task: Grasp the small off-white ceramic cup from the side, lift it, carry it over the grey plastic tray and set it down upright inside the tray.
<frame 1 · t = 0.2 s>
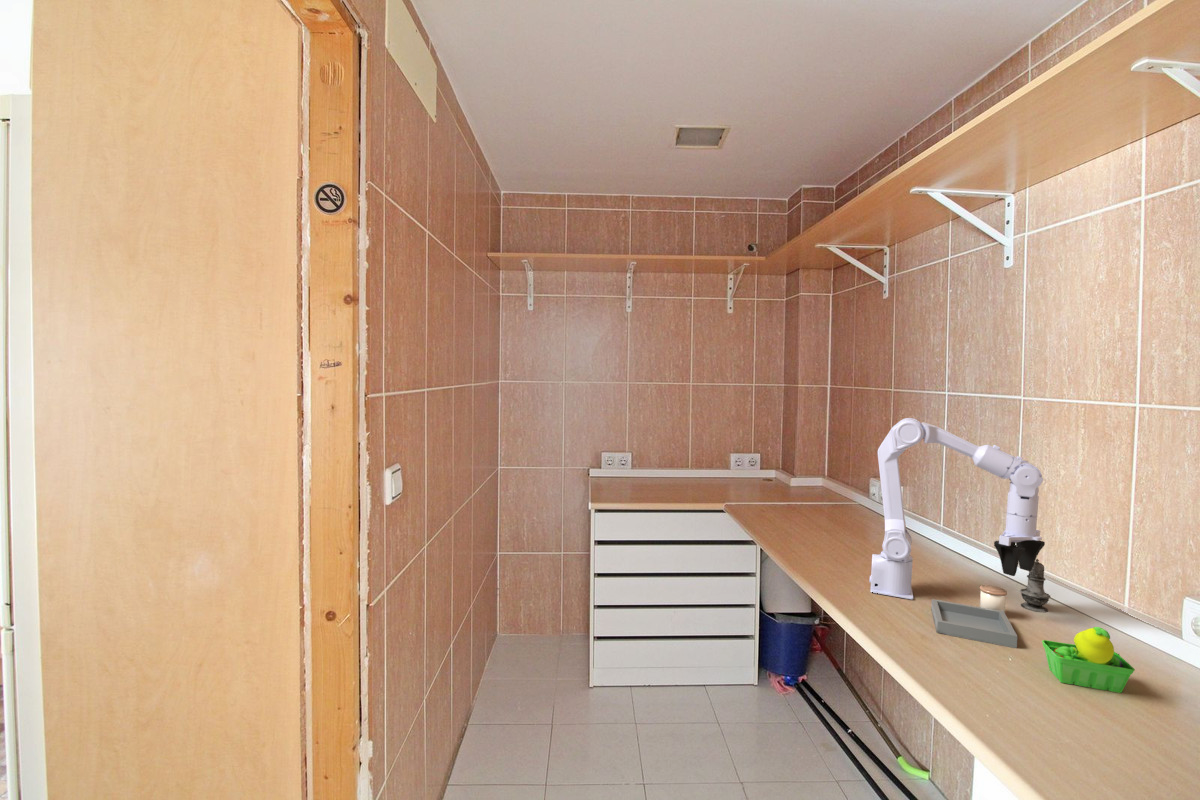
hand: (1017, 572, 133), 10 cm above the table, tool pointing down, fingers open, 7 cm apart
cup: (991, 614, 133), on the table
tray: (970, 627, 126), on the table
fruit basket: (1085, 683, 103), on the table
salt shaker: (1034, 608, 138), on the table
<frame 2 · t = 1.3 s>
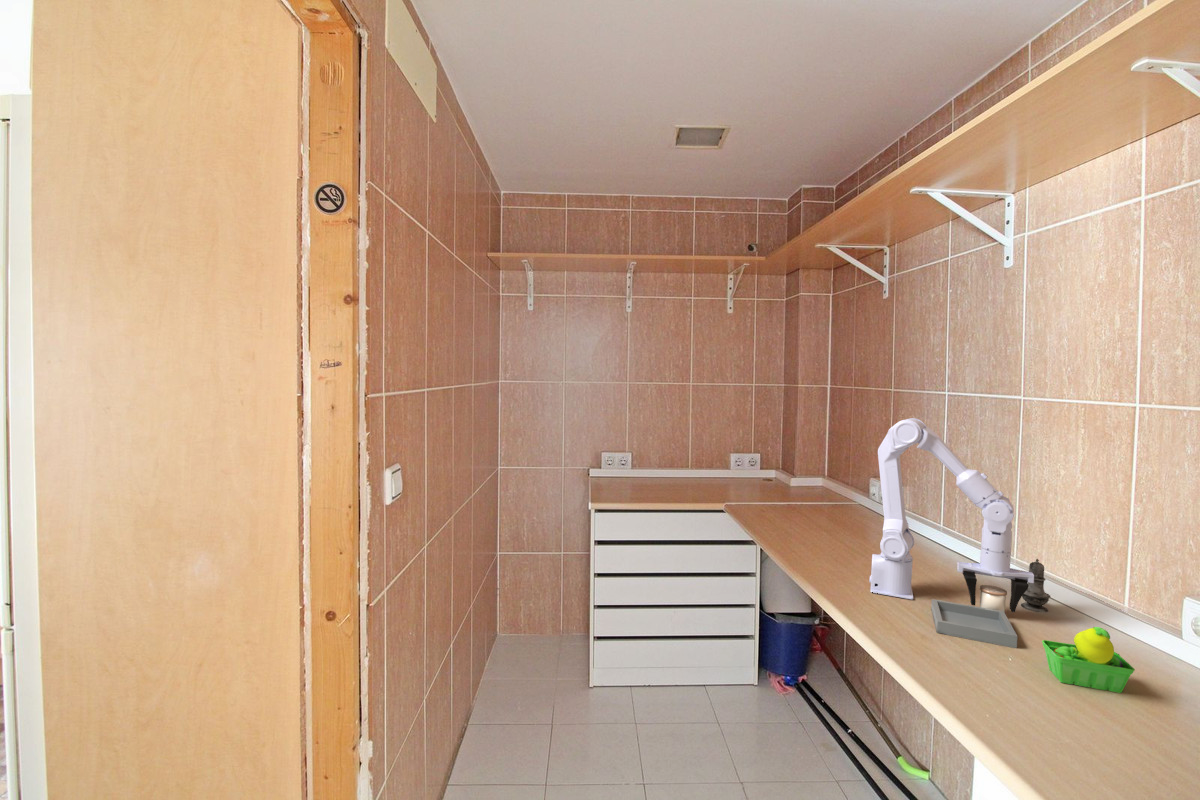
hand: (992, 607, 133), 2 cm above the table, tool pointing down, fingers open, 7 cm apart
nothing on the table moved.
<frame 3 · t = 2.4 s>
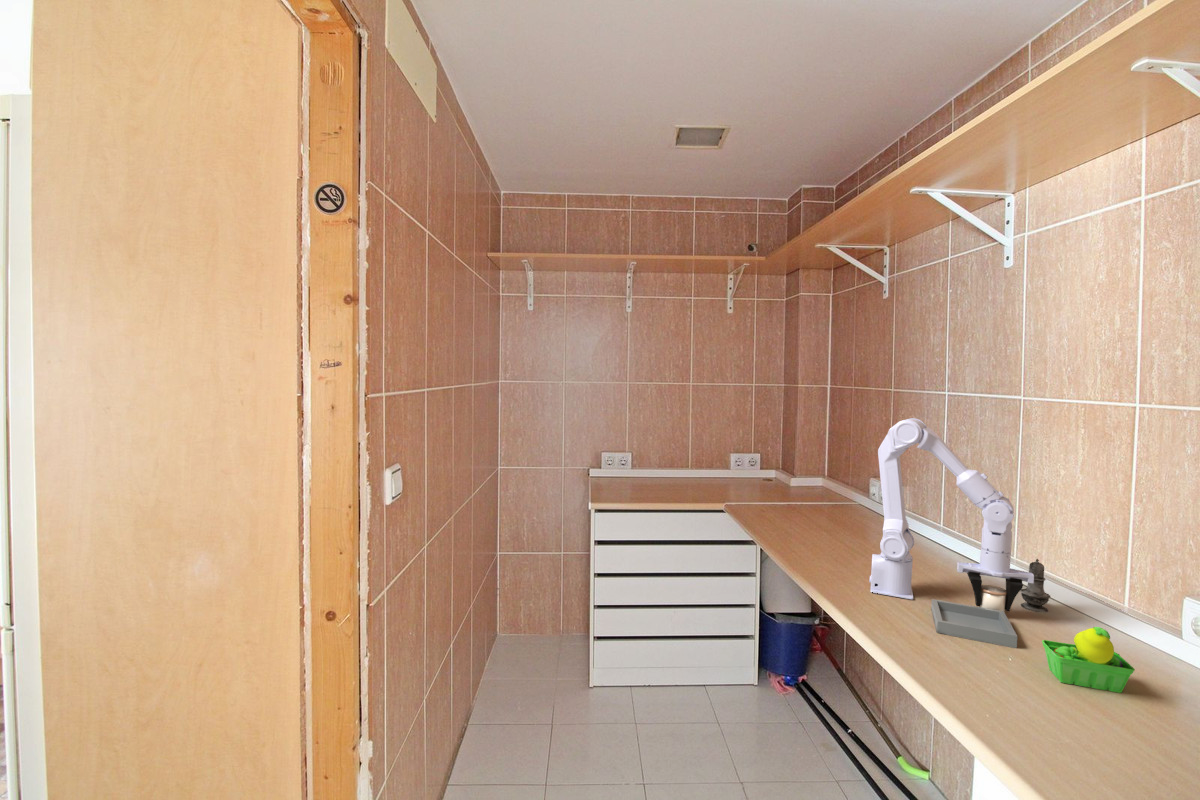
hand: (992, 607, 133), 2 cm above the table, tool pointing down, fingers closed on cup, 5 cm apart
cup: (991, 614, 133), on the table, touching gripper
everything else where it was.
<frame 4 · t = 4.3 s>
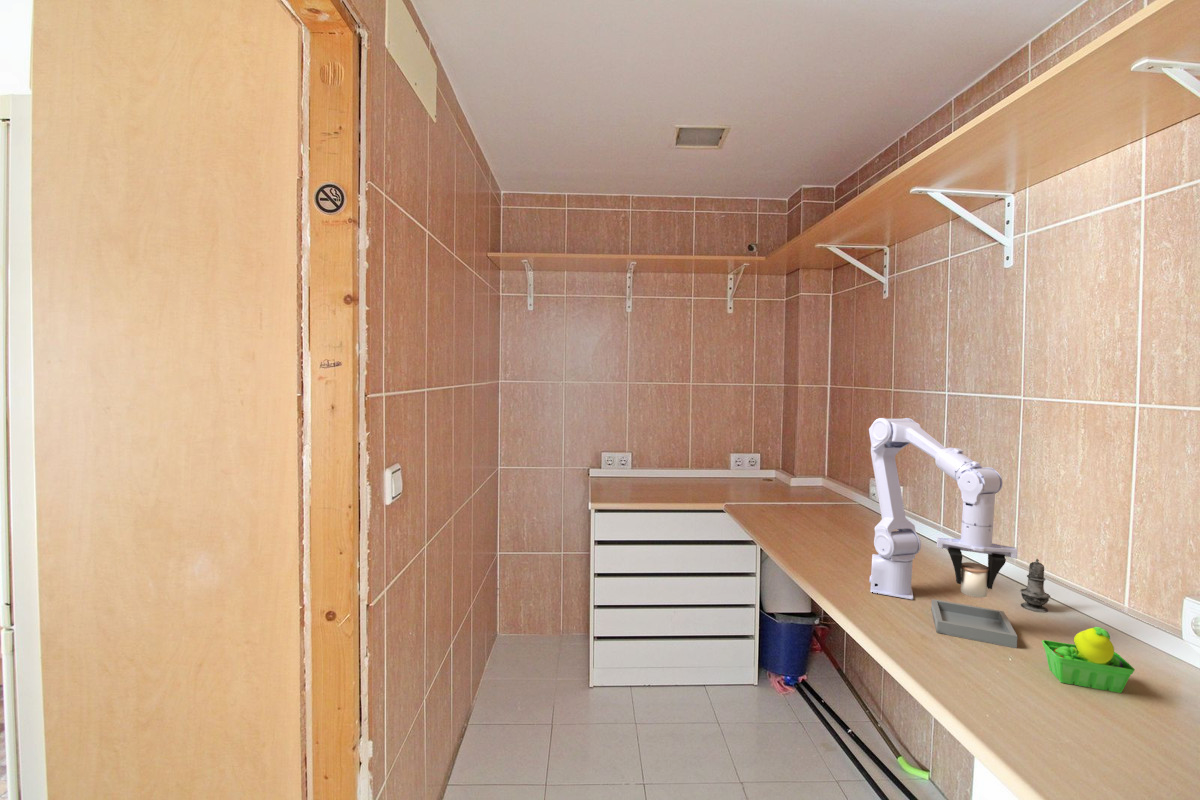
hand: (973, 585, 125), 9 cm above the table, tool pointing down, fingers closed on cup, 5 cm apart
cup: (973, 593, 125), point 7 cm above the table, touching gripper
everything else where it was.
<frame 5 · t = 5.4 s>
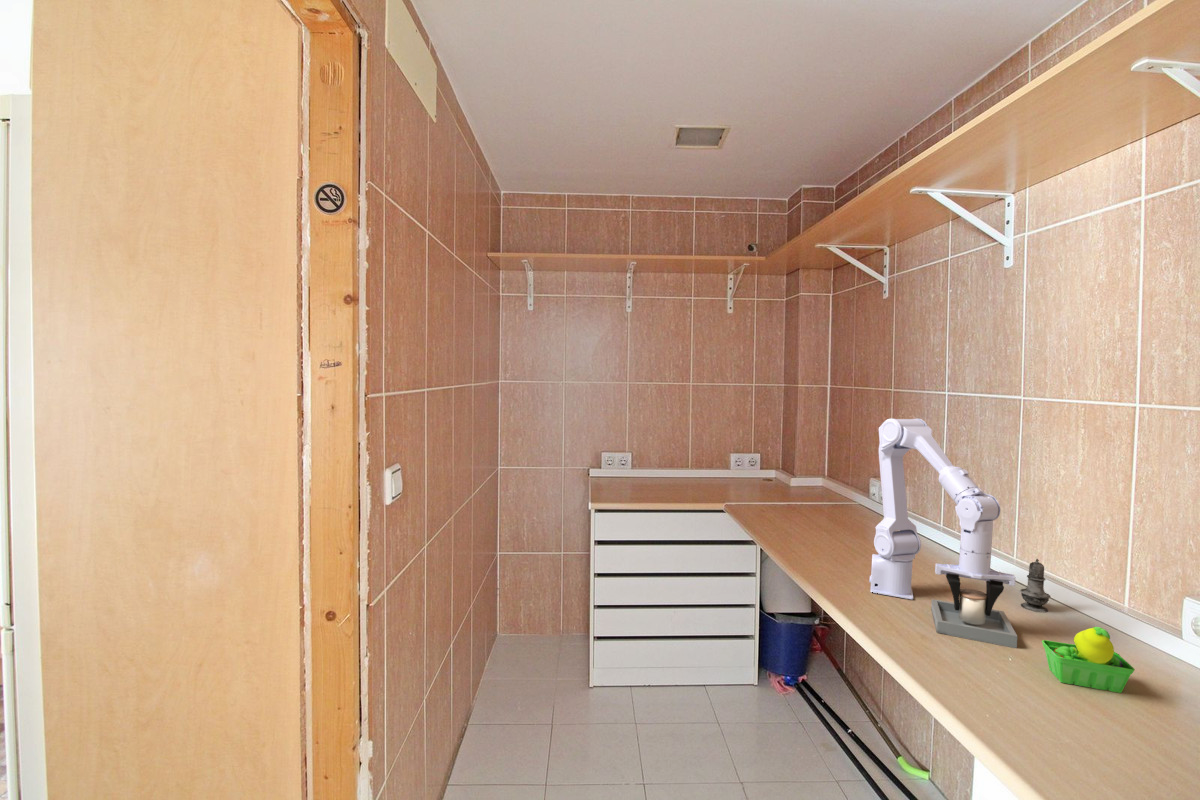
hand: (971, 611, 125), 4 cm above the table, tool pointing down, fingers closed on cup, 5 cm apart
cup: (971, 619, 126), point 2 cm above the table, touching gripper
everything else where it was.
when the fingers open (3 cm above the table, at t = 6.4 s): cup stays where it is, resting on tray.
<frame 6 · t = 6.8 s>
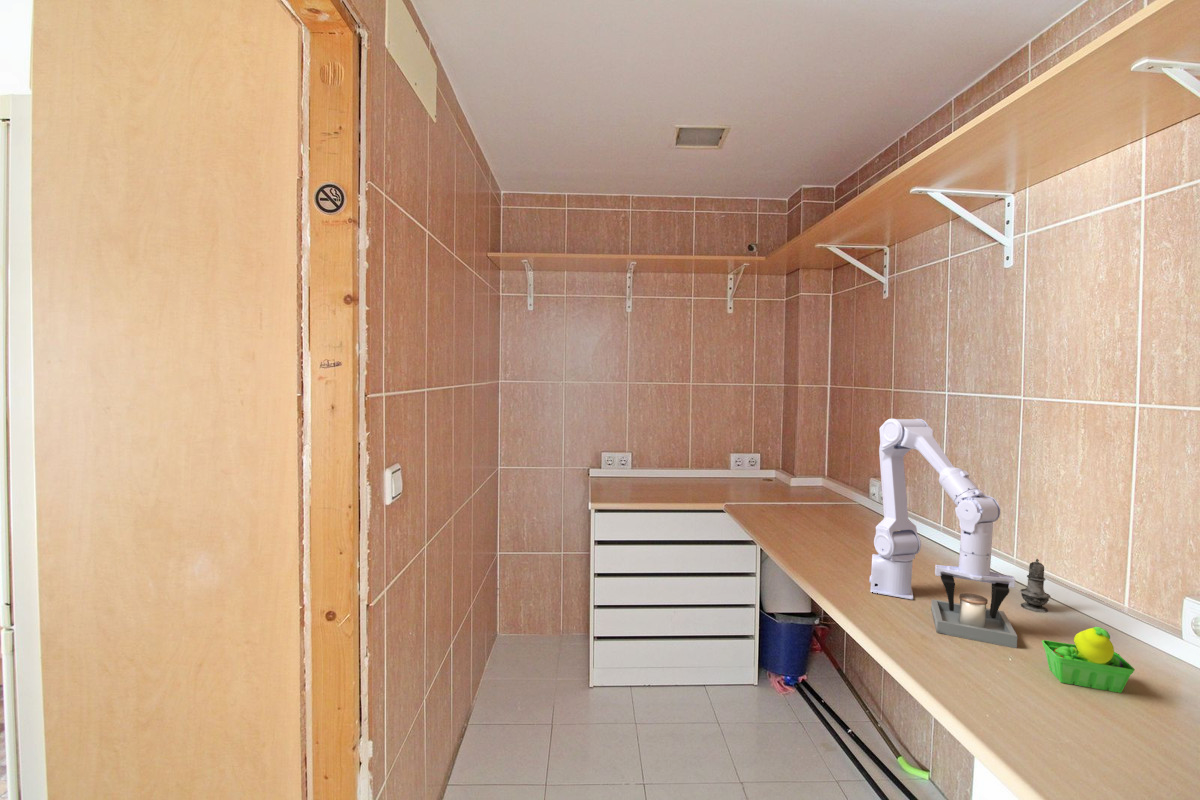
hand: (971, 613, 125), 3 cm above the table, tool pointing down, fingers open, 7 cm apart
cup: (971, 624, 126), point 1 cm above the table, touching tray
everything else where it was.
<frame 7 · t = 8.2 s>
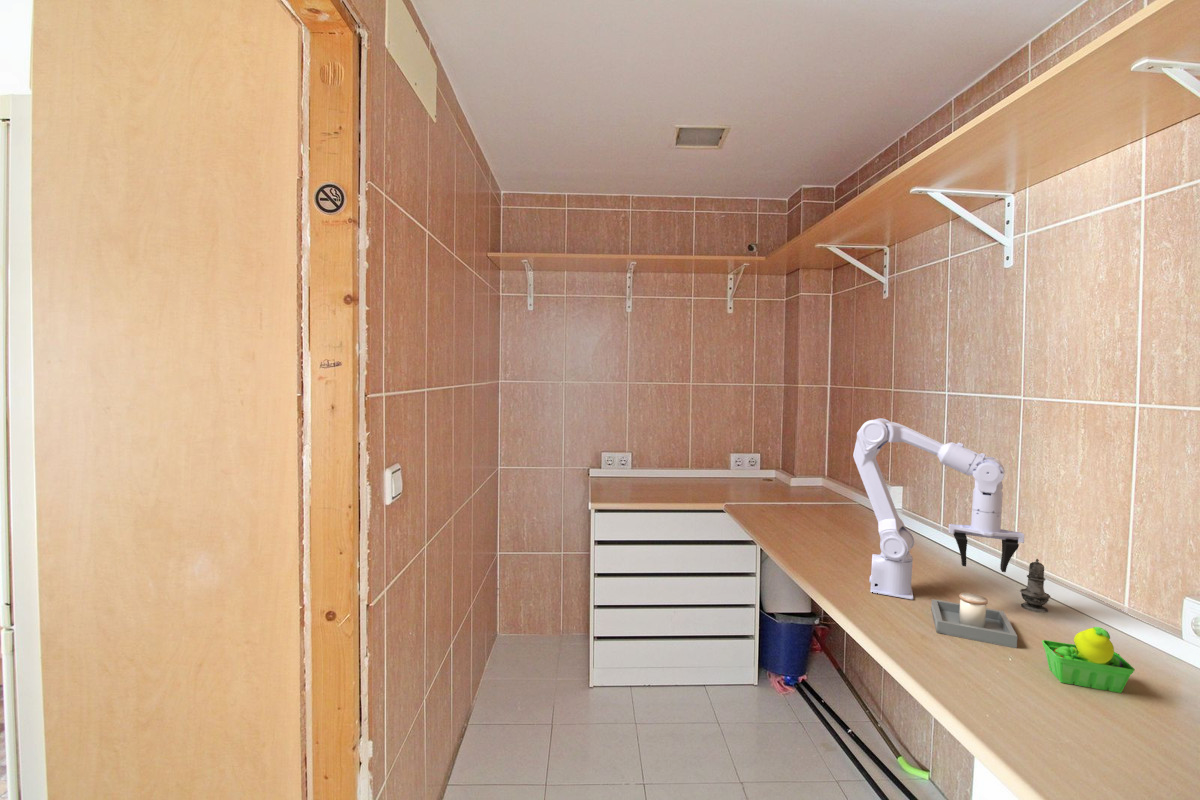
hand: (983, 568, 134), 10 cm above the table, tool pointing down, fingers open, 7 cm apart
nothing on the table moved.
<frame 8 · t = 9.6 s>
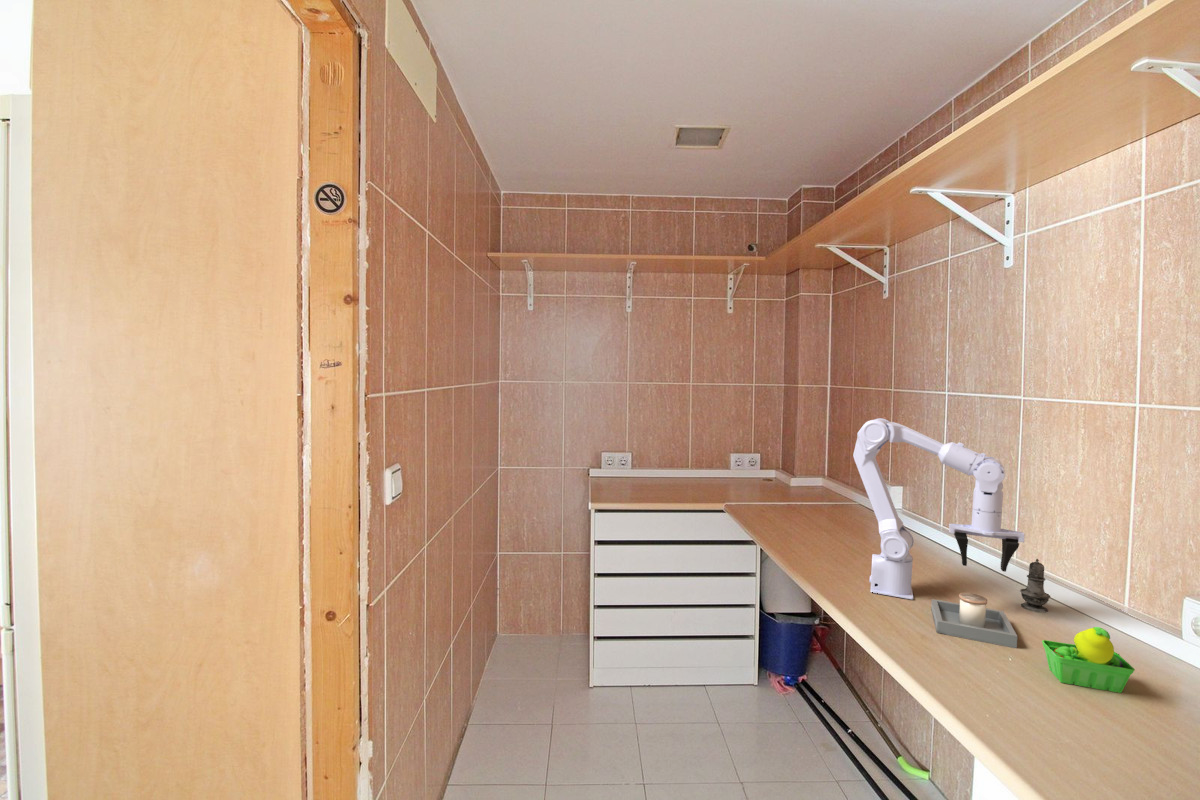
hand: (983, 567, 134), 10 cm above the table, tool pointing down, fingers open, 7 cm apart
nothing on the table moved.
at the end: cup inside the target area on the tray (0.4 cm from its centre), point 0.6 cm above the tray's base; cup tilted 0°; the gripper is holding nothing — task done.
